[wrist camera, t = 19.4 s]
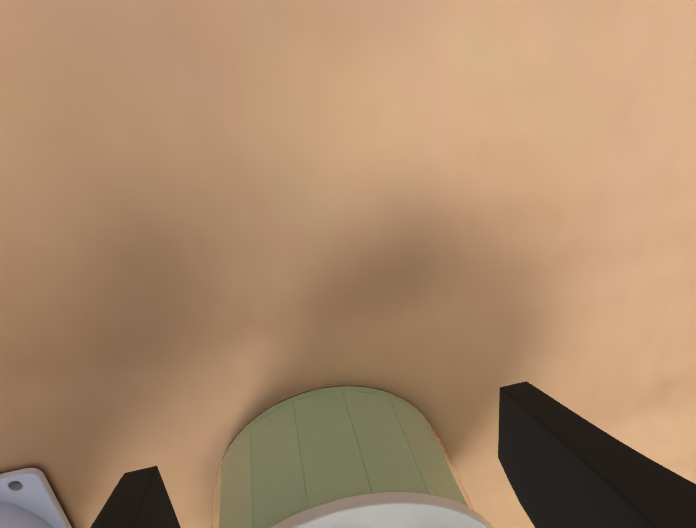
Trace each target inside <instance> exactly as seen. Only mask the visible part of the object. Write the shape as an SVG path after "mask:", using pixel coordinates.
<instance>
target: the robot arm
mask: <svg viewBox="0 0 696 528" xmlns="http://www.w3.org/2000/svg"><path fill="white" fill-rule="evenodd" d="M498 458H499V460H500V462H501V465H502V467H503V469H504V471H505V473H506V475H507V477H508V480H509V482H510V484H511V486H512V488H513V490H514V492H515V494H516V496H517V498H518V500H519V502H520V504H521V505H522V507H523V508H524V510H525V512H526V513H527V515H528V517H529V518H530V520H531V521H532V523H533V524H534V526H535V528H696V484H694V483H692V482H690V481H689V480H687V479H685V478H683V477H681V476H679V475H678V474H676V473H674V472H672V471H670V470H669V469H667V468H665V467H663V466H661V465H660V464H658V463H656V462H654V461H652V460H651V459H649V458H647V457H645V456H644V455H642V454H640V453H639V452H637V451H635V450H634V449H632V448H630V447H628V446H627V445H625V444H623V443H622V442H620V441H619V440H617V439H615V438H614V437H612V436H610V435H609V434H607V433H606V432H604V431H602V430H601V429H599V428H598V427H596V426H594V425H593V424H591V423H590V422H588V421H587V420H585V419H583V418H582V417H580V416H579V415H577V414H576V413H574V412H573V411H571V410H570V409H568V408H567V407H565V406H563V405H562V404H560V403H559V402H557V401H556V400H554V399H553V398H551V397H550V396H548V395H547V394H545V393H544V392H542V391H541V390H539V389H537V388H536V387H534V386H533V385H531V384H529V383H528V382H522V383H517V384H513V385H509V386H504V387H500V402H499V443H498ZM14 481H18V482H20V483H16V482H14ZM0 528H72V527H71V525H70V523H69V521H68V519H67V517H66V515H65V514H64V512H63V510H62V508H61V506H60V504H59V502H58V500H57V498H56V496H55V494H54V492H53V491H52V489H51V487H50V485H49V483H48V481H47V479H46V477H45V475H44V474H43V472H42V471H41V470H39V469H37V468H25V469H20V470H16V471H11V472H7V473H2V474H0ZM90 528H180V525H179V522H178V520H177V517H176V515H175V512H174V509H173V507H172V504H171V501H170V499H169V496H168V494H167V491H166V488H165V486H164V483H163V480H162V478H161V475H160V473H159V470H158V467H157V466H154V467H150V468H145V469H141V470H136V471H132V472H128V473H125V474H124V475H123V477H122V478H121V479H120V481H119V482H118V484H117V486H116V487H115V489H114V490H113V492H112V494H111V495H110V497H109V499H108V500H107V502H106V503H105V505H104V507H103V508H102V510H101V511H100V513H99V515H98V516H97V518H96V520H95V521H94V523H93V524H92V526H91V527H90Z"/></svg>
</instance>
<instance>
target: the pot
mask: <svg viewBox="0 0 696 528" xmlns="http://www.w3.org/2000/svg"><path fill="white" fill-rule="evenodd" d="M380 492H415V493H425V494H431V495H436V496H440V497H444V498H448V499H451V500H453V501H456V502H459V503H461V504H464V505H465V506H467V507H469V508H471V509H473V510H474V511H475V509H474V507H473V505H472V503H471V501H470V499H469V497H468V495H467V493H466V491H465V489H464V487H463V485H462V483H461V481H460V479H459V477H458V475H457V473H456V471H455V469H454V467H453V465H452V463H451V461H450V459H449V457H448V455H447V453H446V451H445V449H444V447H443V445H442V443H441V441H440V439H439V438H438V436H437V435H436V433H435V432H434V430H433V428H432V426H431V425H430V423H429V421H428V420H427V419H426V418H425V416H424V415H423V414H422V413H421V412H420V411H419V410H418V409H417V408H416V407H414V406H413V405H412V404H410V403H409V402H407V401H406V400H404V399H402V398H400V397H398V396H396V395H394V394H391V393H388V392H385V391H382V390H378V389H373V388H367V387H357V386H340V387H329V388H323V389H317V390H313V391H309V392H306V393H302V394H299V395H297V396H294V397H291V398H289V399H286V400H284V401H282V402H280V403H278V404H276V405H274V406H273V407H271V408H269V409H268V410H266V411H265V412H263V413H262V414H260V415H259V416H257V417H256V418H255V419H254V420H253V421H251V422H250V423H249V424H248V425H247V426H246V427H245V428H244V429H243V430H242V431H241V432H240V433H239V434H238V435H237V436H236V438H235V439H234V440H233V442H232V443H231V445H230V446H229V448H228V449H227V451H226V453H225V455H224V457H223V459H222V461H221V464H220V467H219V470H218V475H217V482H216V488H215V492H214V498H213V515H212V528H270V527H271V526H273V525H275V524H277V523H279V522H281V521H283V520H285V519H287V518H289V517H291V516H293V515H295V514H297V513H300V512H302V511H305V510H307V509H310V508H312V507H315V506H318V505H321V504H324V503H328V502H331V501H334V500H338V499H342V498H347V497H352V496H357V495H362V494H370V493H380Z"/></svg>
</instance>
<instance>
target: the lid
mask: <svg viewBox="0 0 696 528" xmlns="http://www.w3.org/2000/svg"><path fill="white" fill-rule="evenodd" d="M270 528H494V527H493V526H492V525H491V524H490V522H489V521H487V520H486V519H485V518H484V517H482V516H481V515H480V514H479V513H478V512H476V511H474V510H473V509H471V508H469V507H467V506H465V505H464V504H461V503H459V502H456V501H453V500H451V499H448V498H444V497H440V496H436V495H431V494H425V493H415V492H380V493H370V494H362V495H357V496H352V497H347V498H342V499H338V500H334V501H331V502H328V503H324V504H321V505H318V506H315V507H312V508H310V509H307V510H305V511H302V512H300V513H297V514H295V515H293V516H291V517H289V518H287V519H285V520H283V521H281V522H279V523H277V524H275V525H273V526H271V527H270Z"/></svg>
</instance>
